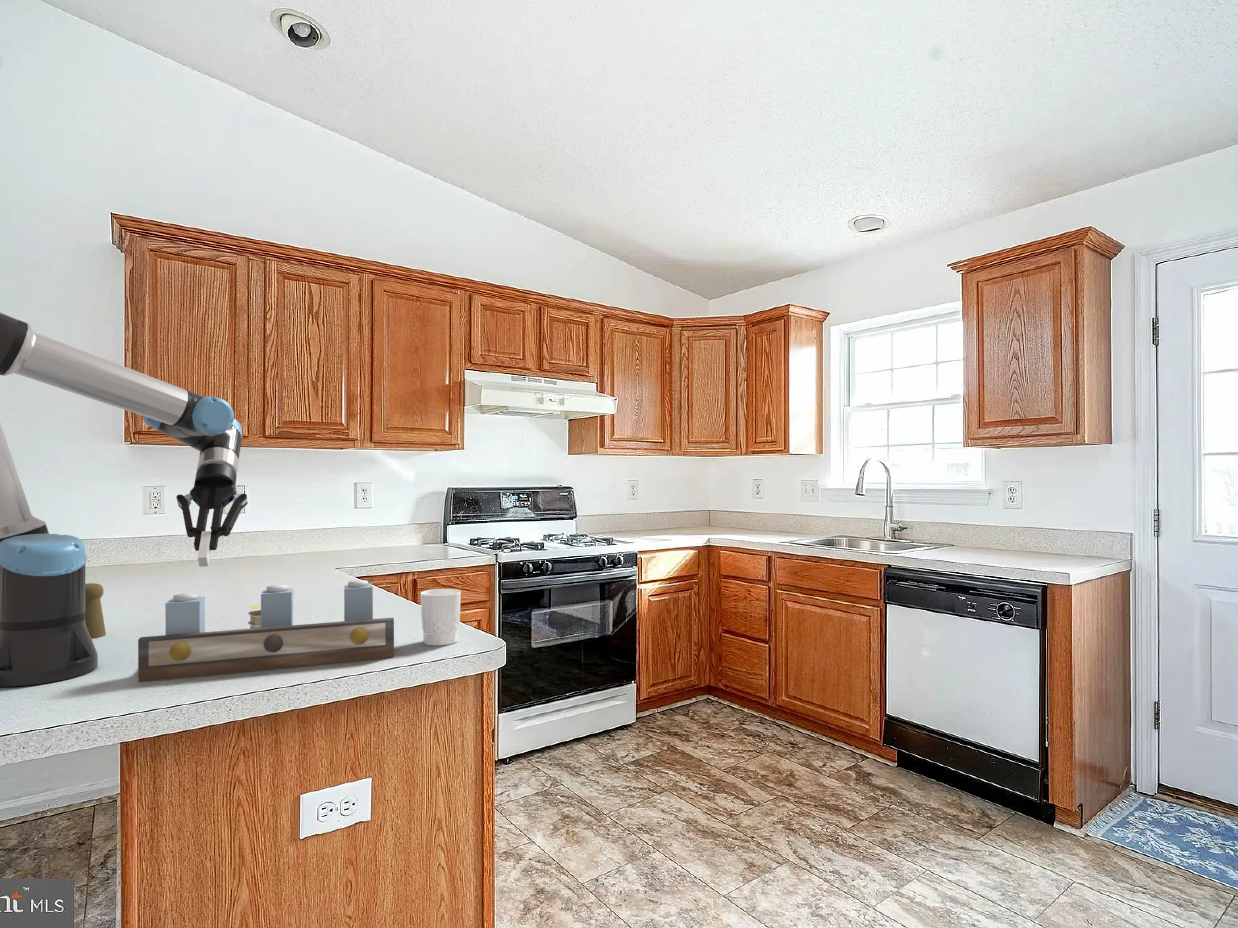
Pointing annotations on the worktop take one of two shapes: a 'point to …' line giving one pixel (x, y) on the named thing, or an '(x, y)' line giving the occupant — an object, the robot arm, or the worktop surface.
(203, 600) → the left plunger
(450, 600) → the white cup
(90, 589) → the cork
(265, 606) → the middle plunger
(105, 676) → the worktop surface
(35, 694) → the worktop surface
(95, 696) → the worktop surface
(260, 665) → the button console
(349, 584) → the right plunger
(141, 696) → the worktop surface
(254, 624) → the stacked layers on plate
